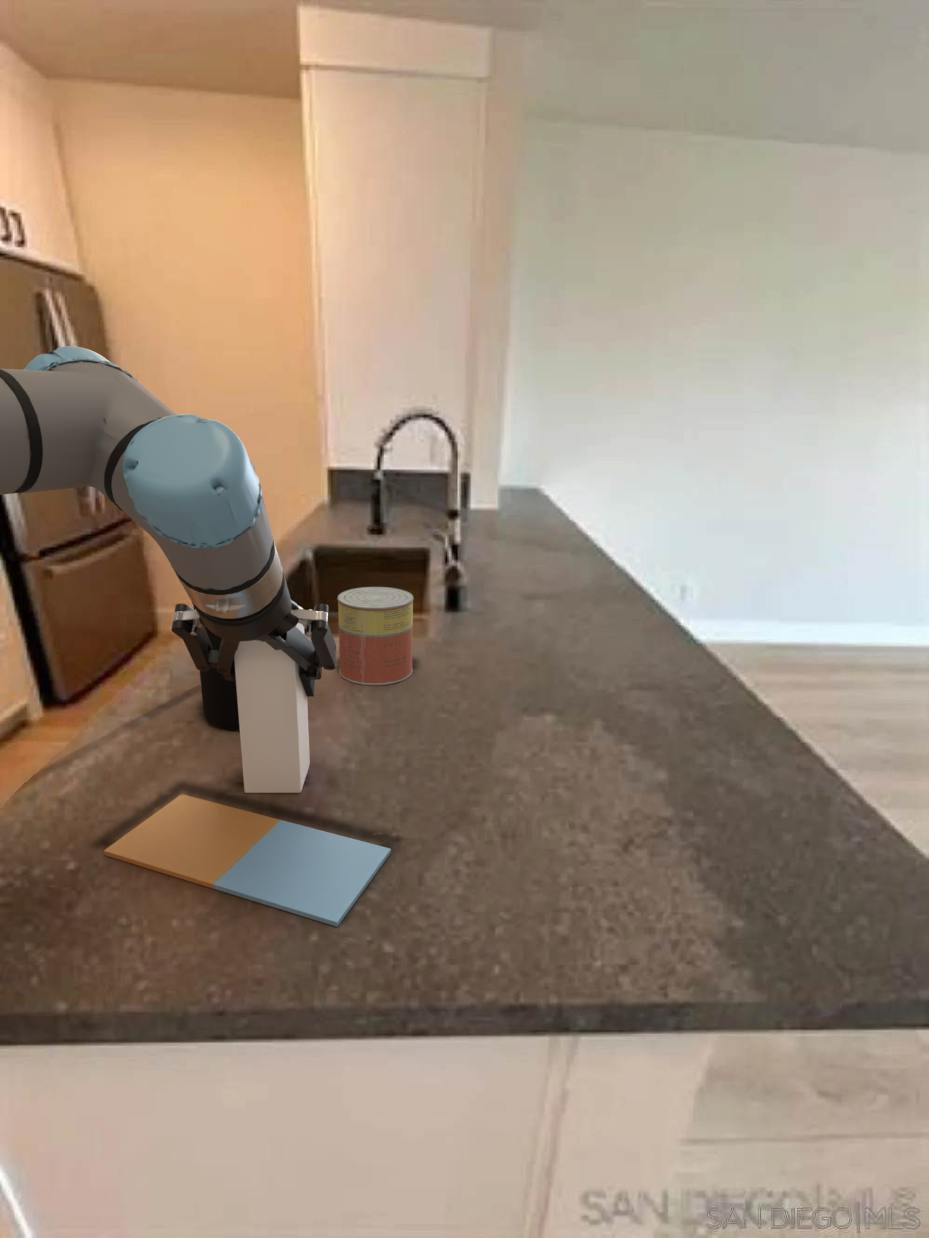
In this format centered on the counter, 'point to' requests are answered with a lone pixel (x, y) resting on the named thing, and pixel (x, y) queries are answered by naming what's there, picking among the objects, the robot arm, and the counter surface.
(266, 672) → the milk
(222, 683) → the coffee jar
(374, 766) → the counter surface
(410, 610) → the canned food
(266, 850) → the sorting board
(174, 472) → the robot arm
